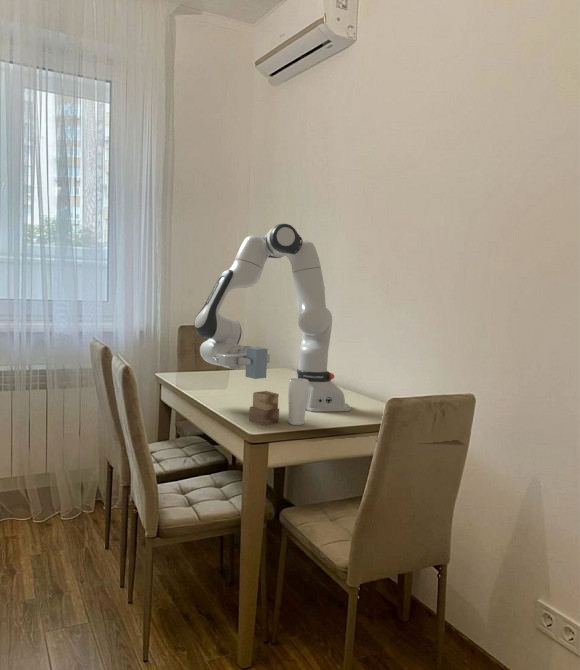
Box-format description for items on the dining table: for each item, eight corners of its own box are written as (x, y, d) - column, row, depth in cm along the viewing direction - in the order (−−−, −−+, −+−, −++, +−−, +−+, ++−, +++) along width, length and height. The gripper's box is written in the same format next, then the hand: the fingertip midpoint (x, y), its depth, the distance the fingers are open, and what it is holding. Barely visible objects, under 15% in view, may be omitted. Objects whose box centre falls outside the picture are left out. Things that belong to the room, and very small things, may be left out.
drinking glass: (283, 424, 194) (285, 380, 192) (290, 420, 200) (293, 377, 199) (302, 427, 191) (305, 382, 190) (308, 423, 198) (311, 379, 196)
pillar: (256, 375, 202) (257, 347, 201) (266, 377, 198) (267, 348, 197) (245, 376, 198) (246, 347, 197) (255, 378, 195) (256, 349, 194)
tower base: (264, 418, 200) (265, 404, 200) (278, 423, 196) (279, 408, 195) (249, 421, 196) (249, 406, 195) (262, 425, 191) (263, 411, 190)
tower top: (265, 405, 199) (266, 390, 199) (277, 408, 195) (278, 394, 195) (252, 407, 195) (253, 392, 195) (264, 410, 191) (265, 395, 190)
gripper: (209, 348, 199) (234, 353, 189) (254, 346, 214) (280, 351, 204) (208, 366, 200) (234, 372, 190) (253, 363, 214) (279, 368, 204)
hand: (258, 361), depth 197 cm, fingers closed on pillar, 5 cm apart
